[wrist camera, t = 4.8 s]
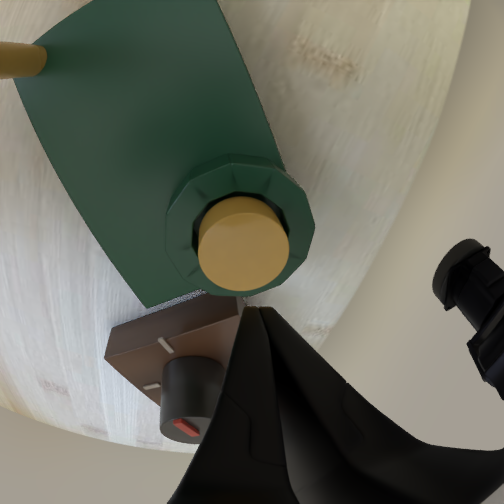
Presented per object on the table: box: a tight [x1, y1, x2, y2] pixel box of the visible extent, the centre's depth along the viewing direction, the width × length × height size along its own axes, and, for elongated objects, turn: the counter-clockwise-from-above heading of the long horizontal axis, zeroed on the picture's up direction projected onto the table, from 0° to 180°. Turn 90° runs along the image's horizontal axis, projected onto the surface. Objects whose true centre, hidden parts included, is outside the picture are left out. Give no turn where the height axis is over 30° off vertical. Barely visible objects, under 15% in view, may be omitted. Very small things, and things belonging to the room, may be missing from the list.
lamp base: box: [13, 0, 315, 309], centre depth 12 cm, size 16×10×4 cm, turn 21°
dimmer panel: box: [104, 293, 246, 406], centre depth 20 cm, size 9×10×3 cm
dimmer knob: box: [160, 356, 225, 444], centre depth 17 cm, size 4×4×5 cm
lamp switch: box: [198, 196, 289, 291], centre depth 12 cm, size 4×4×2 cm
